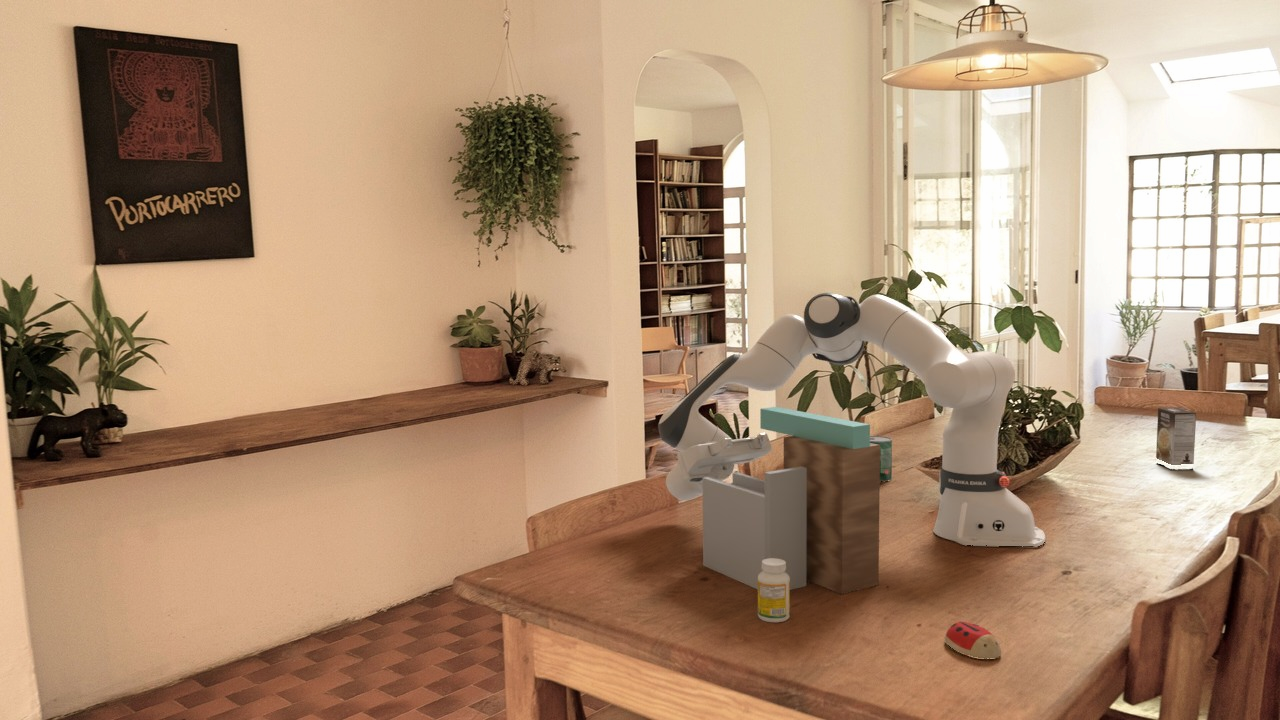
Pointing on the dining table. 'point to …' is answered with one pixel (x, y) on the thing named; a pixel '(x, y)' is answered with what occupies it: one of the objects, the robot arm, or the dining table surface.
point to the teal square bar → (816, 427)
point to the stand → (839, 512)
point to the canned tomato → (884, 456)
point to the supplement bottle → (773, 591)
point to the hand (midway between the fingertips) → (747, 438)
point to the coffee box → (1176, 435)
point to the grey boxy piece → (756, 524)
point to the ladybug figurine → (972, 640)
